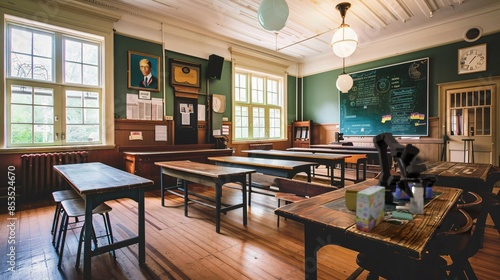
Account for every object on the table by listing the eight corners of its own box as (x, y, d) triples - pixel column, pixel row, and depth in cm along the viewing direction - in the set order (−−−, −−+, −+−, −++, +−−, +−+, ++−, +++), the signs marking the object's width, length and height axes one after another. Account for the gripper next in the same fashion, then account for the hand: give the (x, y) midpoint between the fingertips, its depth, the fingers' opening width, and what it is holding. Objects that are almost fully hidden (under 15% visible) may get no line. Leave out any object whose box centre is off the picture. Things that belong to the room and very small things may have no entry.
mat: (392, 217, 113) (392, 216, 113) (392, 212, 120) (392, 211, 120) (412, 220, 109) (412, 219, 109) (411, 215, 116) (411, 214, 116)
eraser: (406, 208, 128) (406, 204, 128) (405, 207, 131) (405, 203, 131) (417, 209, 126) (417, 205, 126) (416, 208, 129) (416, 204, 129)
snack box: (370, 233, 95) (370, 194, 95) (355, 229, 99) (355, 192, 99) (385, 219, 110) (385, 186, 110) (371, 216, 114) (372, 184, 114)
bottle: (410, 212, 105) (411, 183, 105) (409, 209, 109) (410, 181, 109) (423, 214, 103) (424, 184, 102) (422, 211, 107) (422, 182, 106)
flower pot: (363, 208, 128) (363, 191, 128) (363, 213, 120) (363, 194, 120) (345, 206, 131) (345, 189, 131) (344, 210, 123) (344, 192, 123)
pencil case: (399, 201, 143) (399, 184, 143) (389, 197, 151) (389, 181, 151) (434, 200, 144) (434, 184, 144) (422, 196, 153) (423, 181, 153)
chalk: (397, 209, 126) (397, 206, 126) (396, 208, 127) (396, 205, 127) (411, 210, 125) (411, 207, 125) (410, 209, 126) (410, 206, 126)
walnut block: (414, 214, 118) (414, 206, 118) (408, 211, 122) (408, 203, 122) (422, 214, 118) (422, 206, 118) (416, 211, 122) (416, 203, 122)
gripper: (390, 157, 110) (401, 186, 100) (435, 157, 108) (452, 188, 97) (383, 171, 118) (392, 200, 108) (425, 172, 116) (439, 202, 105)
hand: (418, 197), depth 104 cm, fingers closed on bottle, 5 cm apart
